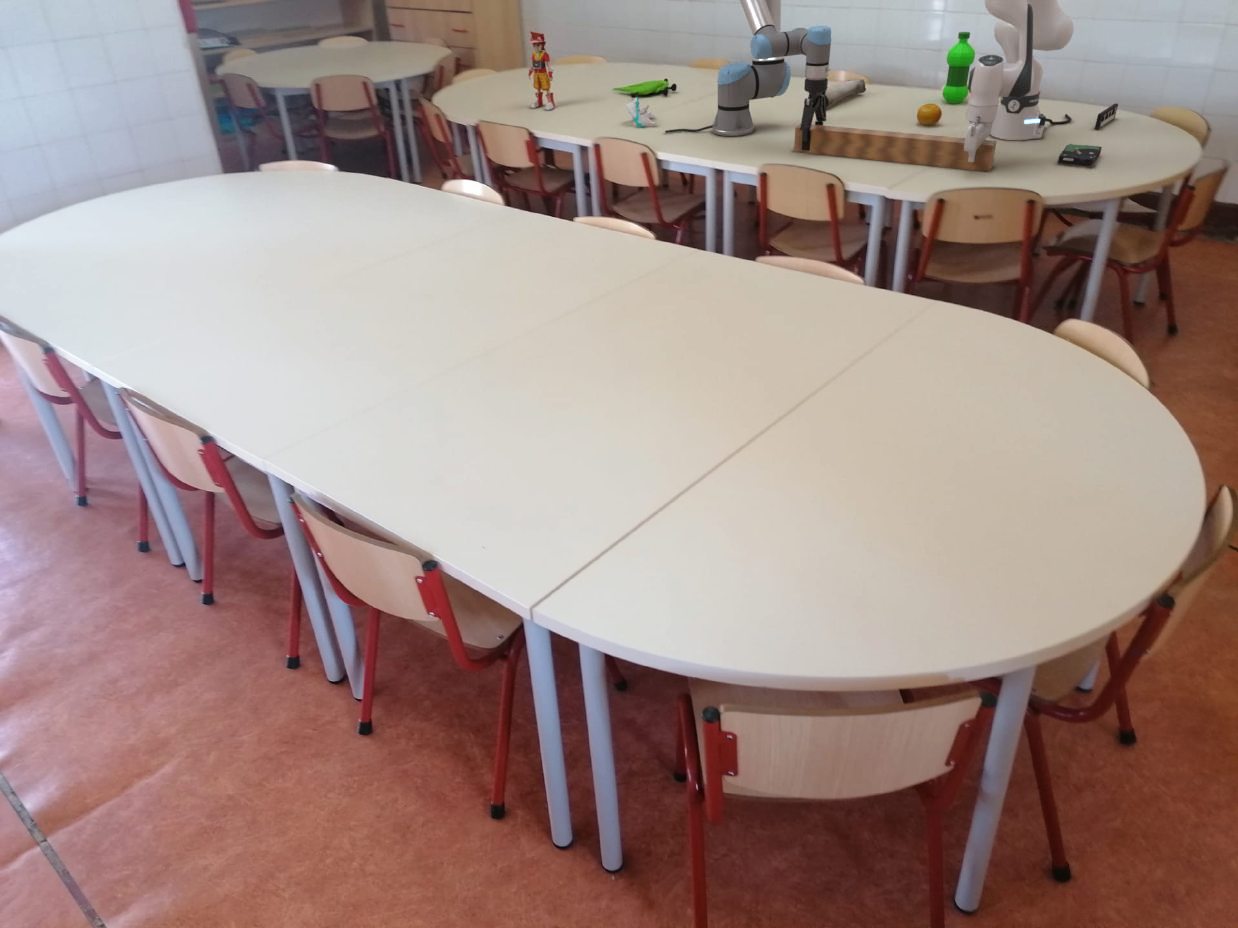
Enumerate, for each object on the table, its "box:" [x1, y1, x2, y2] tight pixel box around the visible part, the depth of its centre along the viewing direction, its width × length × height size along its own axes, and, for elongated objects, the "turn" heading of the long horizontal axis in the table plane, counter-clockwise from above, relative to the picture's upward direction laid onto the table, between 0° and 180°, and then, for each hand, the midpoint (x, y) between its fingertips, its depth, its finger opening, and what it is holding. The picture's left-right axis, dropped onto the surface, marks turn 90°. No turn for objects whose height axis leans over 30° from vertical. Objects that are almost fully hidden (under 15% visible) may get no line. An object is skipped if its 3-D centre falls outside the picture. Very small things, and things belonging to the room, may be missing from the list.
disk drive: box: [1057, 143, 1102, 167], centre depth 287 cm, size 10×3×15 cm
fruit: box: [916, 103, 943, 126], centre depth 329 cm, size 8×8×8 cm
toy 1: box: [527, 31, 556, 111], centre depth 374 cm, size 12×9×30 cm
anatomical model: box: [625, 97, 657, 128], centre depth 351 cm, size 15×10×10 cm
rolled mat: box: [825, 78, 867, 110], centre depth 364 cm, size 30×9×10 cm
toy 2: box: [612, 78, 677, 99], centre depth 396 cm, size 28×5×30 cm
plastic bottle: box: [942, 31, 976, 104], centre depth 348 cm, size 10×10×25 cm
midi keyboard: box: [1094, 103, 1119, 130], centre depth 318 cm, size 18×1×5 cm, turn 138°
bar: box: [793, 123, 998, 172], centre depth 297 cm, size 65×6×8 cm, turn 59°
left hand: (811, 145), depth 310 cm, fingers open, 11 cm apart
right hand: (973, 158), depth 286 cm, fingers closed on bar, 5 cm apart
